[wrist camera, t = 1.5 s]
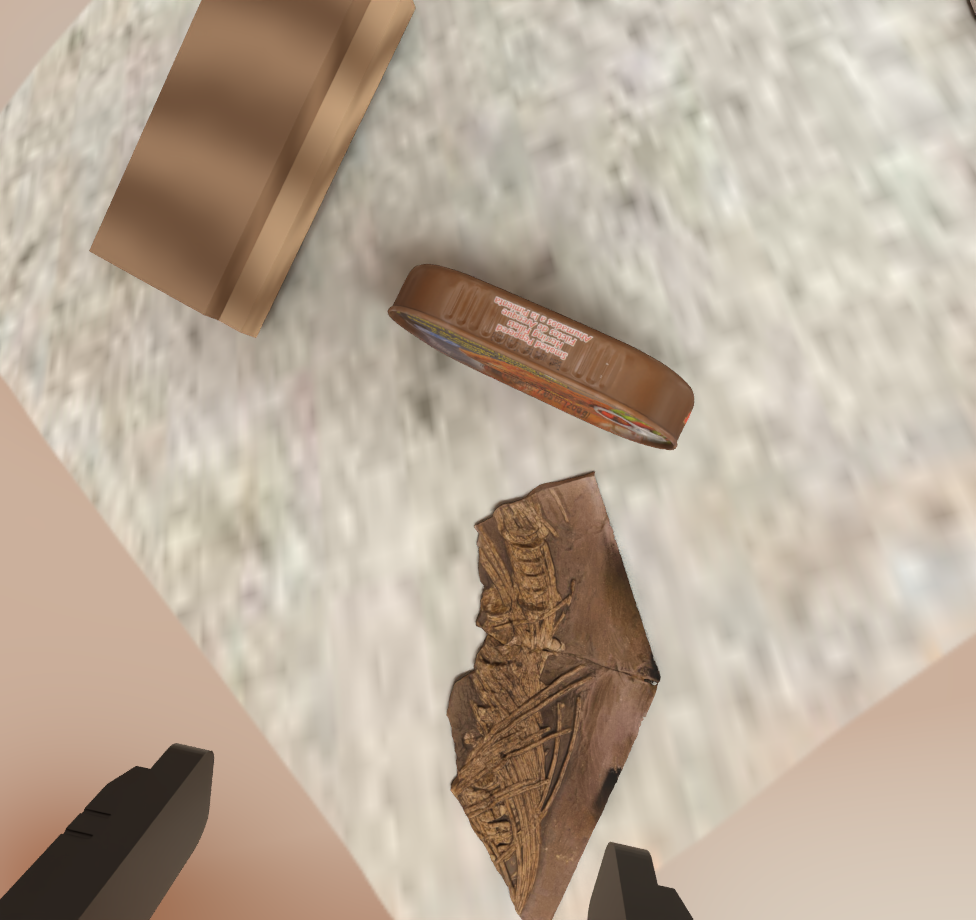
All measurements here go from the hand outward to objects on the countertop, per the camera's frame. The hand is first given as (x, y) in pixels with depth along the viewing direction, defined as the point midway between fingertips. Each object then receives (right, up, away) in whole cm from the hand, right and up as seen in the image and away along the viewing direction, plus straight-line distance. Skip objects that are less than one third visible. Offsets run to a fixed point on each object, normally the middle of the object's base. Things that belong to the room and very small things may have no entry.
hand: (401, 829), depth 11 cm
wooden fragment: (+5, -6, +21) cm, 22 cm away
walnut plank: (-11, +26, +23) cm, 36 cm away
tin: (+5, +12, +20) cm, 24 cm away
